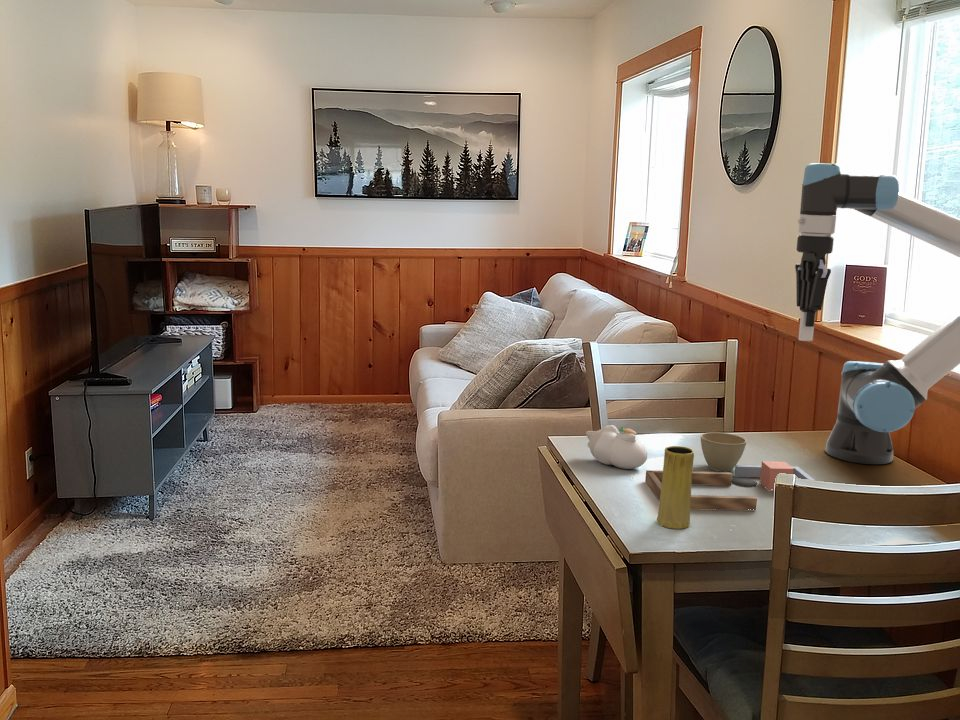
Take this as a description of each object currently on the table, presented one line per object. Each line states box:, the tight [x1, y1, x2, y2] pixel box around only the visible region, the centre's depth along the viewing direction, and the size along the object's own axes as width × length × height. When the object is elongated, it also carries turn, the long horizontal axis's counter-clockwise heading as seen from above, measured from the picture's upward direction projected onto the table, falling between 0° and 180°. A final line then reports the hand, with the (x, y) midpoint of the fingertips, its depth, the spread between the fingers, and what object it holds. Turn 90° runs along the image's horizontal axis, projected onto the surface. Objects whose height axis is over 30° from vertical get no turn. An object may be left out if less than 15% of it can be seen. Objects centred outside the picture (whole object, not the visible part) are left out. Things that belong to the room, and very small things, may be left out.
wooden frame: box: [644, 469, 758, 511], centre depth 186 cm, size 18×16×2 cm
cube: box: [759, 460, 794, 492], centre depth 193 cm, size 5×5×5 cm
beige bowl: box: [700, 431, 747, 472], centre depth 204 cm, size 10×10×7 cm
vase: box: [656, 445, 695, 530], centre depth 168 cm, size 6×6×14 cm
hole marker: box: [731, 477, 758, 488], centre depth 195 cm, size 5×5×1 cm
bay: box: [734, 464, 815, 480], centre depth 195 cm, size 14×10×2 cm
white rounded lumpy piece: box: [585, 424, 648, 470], centre depth 204 cm, size 10×8×15 cm
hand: (805, 340), depth 205 cm, fingers closed
